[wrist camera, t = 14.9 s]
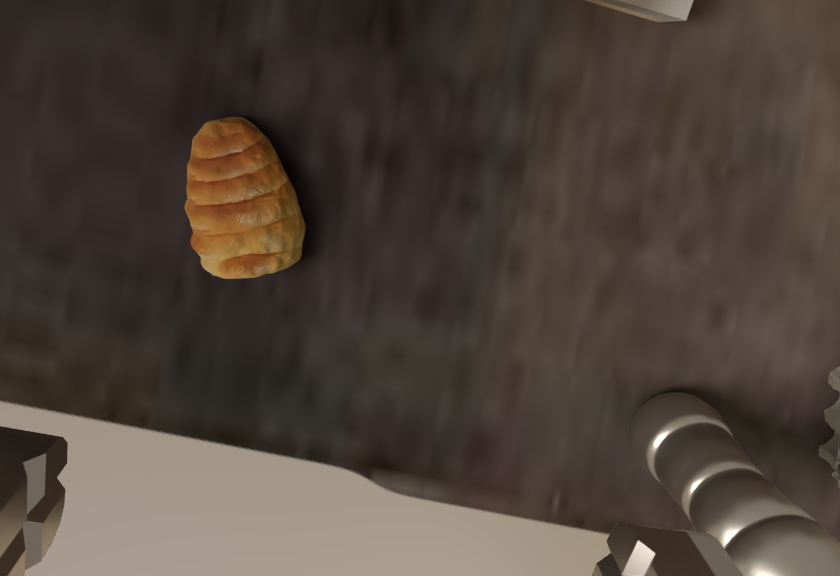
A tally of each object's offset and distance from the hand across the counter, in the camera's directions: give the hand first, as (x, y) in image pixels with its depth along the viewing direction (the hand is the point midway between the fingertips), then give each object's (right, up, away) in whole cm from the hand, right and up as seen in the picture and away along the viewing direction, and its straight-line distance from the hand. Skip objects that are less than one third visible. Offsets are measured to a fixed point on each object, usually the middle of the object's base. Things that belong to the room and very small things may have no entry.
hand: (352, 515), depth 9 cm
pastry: (-10, +9, +30) cm, 33 cm away
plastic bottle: (+19, -6, +38) cm, 43 cm away
